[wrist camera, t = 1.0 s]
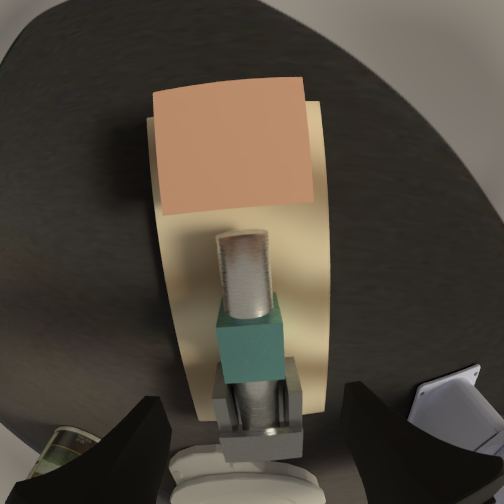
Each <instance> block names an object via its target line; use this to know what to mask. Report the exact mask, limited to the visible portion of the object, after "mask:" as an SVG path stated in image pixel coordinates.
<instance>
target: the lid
mask: <svg viewBox="0 0 504 504" xmlns="http://www.w3.org/2000/svg"><path fill="white" fill-rule="evenodd" d="M168 468H169V470H170V472H171V474H172V476H173V478H174V480H175V482H176V484H177V486H176V487H175V488H174V490H173V492H172V494H171V497H170V502H171V504H325V502H326V500H325V496H324V493H323V490H322V489H321V488H319V485H318V482H317V479H316V477H315V476H314V475H312V474H311V473H310V472H308V471H307V470H306V469H303V468H300V467H297V466H294V465H291V464H288V463H280V462H273V461H257V462H233V463H226V462H225V458H224V455H223V451H222V447H221V444H210V445H197V446H192V447H190V448H187V449H184V450H181V451H179V452H178V453H177V454H176V455H175V456H174V457H173V458H172V459H171V460H170V463H169V467H168Z"/></svg>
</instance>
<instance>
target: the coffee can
mask: <svg viewBox="0 0 504 504" xmlns="http://www.w3.org/2000/svg"><path fill="white" fill-rule="evenodd" d="M100 440H101V439H100V438H98V437H97V436H95V435H93V434H91V433H88V432H86V431H84V430H81V429H78V428H75V427H70V426H61V427H58V428H57V429H56V430H55V432H54V434H53V436H52V438H51V439H50V441H49V442H48V444H47V446H46V447H45V449H44V450H43V452H42V453H41V455H40V457H39V458H38V460H37V462H36V463H35V465H34V467H33V468H32V470H31V472H30V473H29V475H28V477H27V478H26V480H27V479H30V478H34V477H37V476H40V475H43V474H45V473H48V472H50V471H52V470H55V469H57V468H59V467H61V466H63V465H65V464H66V463H68V462H70V461H72V460H73V459H75V458H77V457H78V456H80V455H82V454H83V453H84V452H86V451H87V450H89V449H90V448H91V447H93V446H94V445H95V444H97V443H98V442H99V441H100Z"/></svg>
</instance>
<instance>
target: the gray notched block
mask: <svg viewBox="0 0 504 504" xmlns="http://www.w3.org/2000/svg"><path fill="white" fill-rule="evenodd" d="M233 388H234V391H233ZM283 391H284V415H283ZM234 394H235V397H234ZM278 396H279V416H280V422H281V421H284V418H285V424H286V427H282V428H272V429H259V430H242V431H238V424H239V423H240V424H242V422H241V416H240V410H239V404H238V398H237V391H236V385H235V383H233V385H232V383H228V384H225V381H224V375H223V370H222V364H221V362H218V363H217V367H216V374H215V380H214V387H213V394H212V402H213V407H214V411H215V415H216V419H217V423H218V427H219V431H220V432H219V440H220V444H221V447H222V451H223V455H224V458H225V462H226V463H233V462H257V461H271V460H282V459H291V458H299V457H302V449H303V428H302V403H303V392H302V387H301V383H300V379H299V375H298V371H297V367H296V363H295V359H294V357H285V379H283V388H282V380H278ZM235 400H236V403H235ZM236 406H237V408H236ZM237 412H238V414H237ZM238 417H239V420H238Z"/></svg>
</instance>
